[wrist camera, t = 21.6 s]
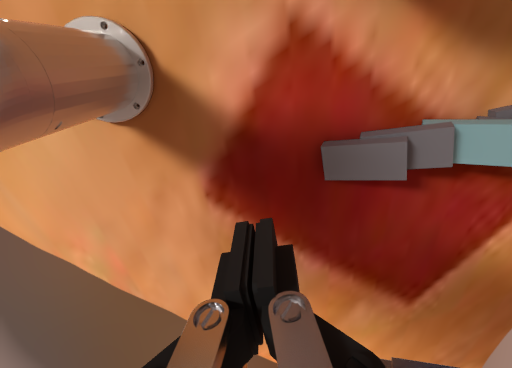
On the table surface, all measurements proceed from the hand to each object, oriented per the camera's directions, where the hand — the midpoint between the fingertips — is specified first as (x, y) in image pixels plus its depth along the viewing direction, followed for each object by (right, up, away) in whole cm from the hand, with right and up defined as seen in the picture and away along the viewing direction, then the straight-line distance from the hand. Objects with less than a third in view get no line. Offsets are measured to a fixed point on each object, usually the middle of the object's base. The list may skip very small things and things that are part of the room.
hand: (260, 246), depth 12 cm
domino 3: (+21, +9, +23) cm, 32 cm away
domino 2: (+14, +7, +24) cm, 29 cm away
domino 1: (+9, +6, +25) cm, 27 cm away
